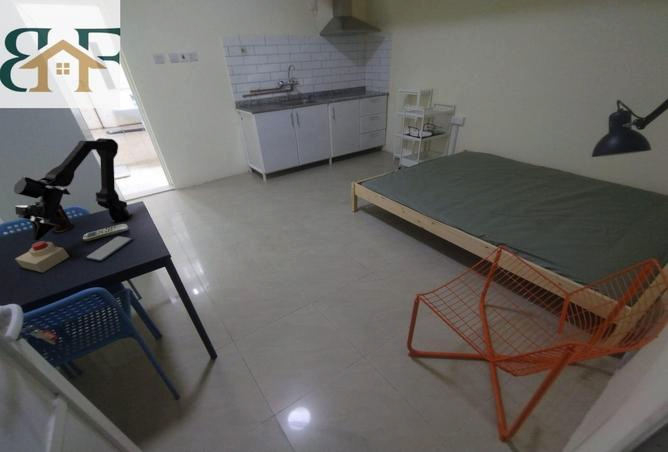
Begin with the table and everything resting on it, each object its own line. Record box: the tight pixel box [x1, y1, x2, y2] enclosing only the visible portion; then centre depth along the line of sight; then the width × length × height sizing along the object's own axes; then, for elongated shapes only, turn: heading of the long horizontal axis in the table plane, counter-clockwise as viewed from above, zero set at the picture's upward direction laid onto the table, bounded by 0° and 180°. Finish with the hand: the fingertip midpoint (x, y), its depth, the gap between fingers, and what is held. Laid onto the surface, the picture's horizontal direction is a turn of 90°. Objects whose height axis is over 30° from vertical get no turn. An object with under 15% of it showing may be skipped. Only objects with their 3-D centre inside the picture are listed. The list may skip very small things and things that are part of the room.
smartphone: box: [86, 235, 133, 262], centre depth 118 cm, size 8×1×15 cm
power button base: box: [14, 241, 70, 274], centre depth 111 cm, size 10×12×6 cm
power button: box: [31, 240, 48, 251], centre depth 110 cm, size 4×4×2 cm
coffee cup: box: [53, 203, 73, 233], centre depth 131 cm, size 9×8×13 cm
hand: (35, 239), depth 109 cm, fingers closed
